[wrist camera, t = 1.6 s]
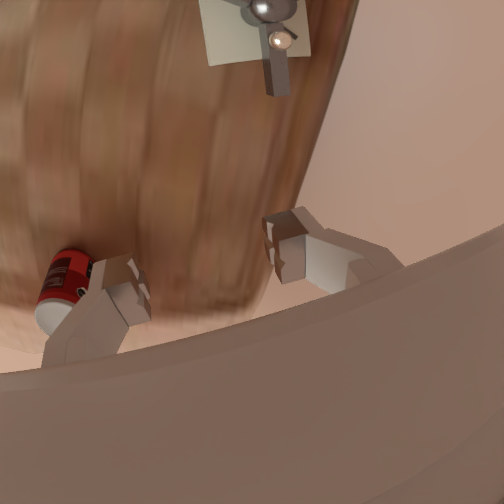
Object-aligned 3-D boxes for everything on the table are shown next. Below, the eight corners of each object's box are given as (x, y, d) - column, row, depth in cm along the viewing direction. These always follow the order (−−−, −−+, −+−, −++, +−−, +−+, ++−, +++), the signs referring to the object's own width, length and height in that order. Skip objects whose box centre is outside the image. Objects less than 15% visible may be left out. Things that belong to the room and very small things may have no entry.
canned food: (94, 293, 42) (87, 348, 34) (49, 279, 38) (33, 334, 30) (104, 256, 39) (96, 312, 31) (55, 240, 35) (34, 294, 27)
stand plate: (195, -24, 21) (196, -28, 20) (295, -27, 23) (301, -30, 21) (208, 66, 29) (211, 66, 27) (305, 56, 30) (311, 56, 29)
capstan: (167, -22, 19) (169, -41, 14) (325, -27, 22) (357, -37, 17) (188, 105, 29) (194, 114, 24) (336, 85, 32) (368, 94, 27)
